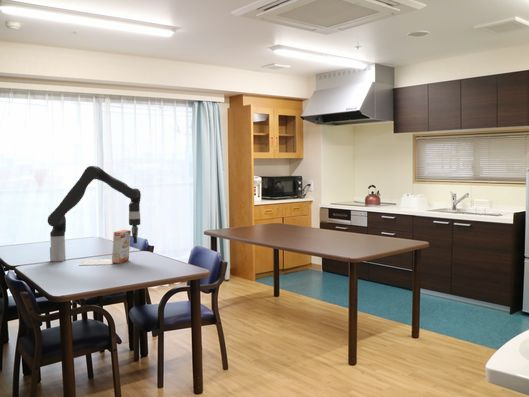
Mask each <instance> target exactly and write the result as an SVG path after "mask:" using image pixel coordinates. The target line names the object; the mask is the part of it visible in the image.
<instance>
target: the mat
mask: <svg viewBox="0 0 529 397" xmlns="http://www.w3.org/2000/svg"><path fill="white" fill-rule="evenodd" d="M106 265H107V266H110V265H114V263H112V258H110V259H109V258H107V259H106V258H105V259H102V258H101V259H85V260H84V261H83V262H81V263H80V264H79V265H78V266H82V267H83V266H106Z"/></svg>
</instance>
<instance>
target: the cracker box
mask: <svg viewBox="0 0 529 397" xmlns="http://www.w3.org/2000/svg"><path fill="white" fill-rule="evenodd" d="M131 235H132V230H129V229H120V230H116V231H114V232H113V236H112V237H113V238H112V239H113V240H112V252H111V254H112V255H111V259H112V263H113V264H121V263H125V262H127V261H129V260H130V250H131V249H130V248H131V247H130V246H131Z"/></svg>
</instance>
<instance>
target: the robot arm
mask: <svg viewBox="0 0 529 397" xmlns="http://www.w3.org/2000/svg"><path fill="white" fill-rule="evenodd" d="M93 180H97V181H101V182H103V183H105V184H107V185H108V186H109V187H111V189H113V190H114V191H116V192H119V193H120V194H122V195H123V196H125V197H126V198H128V199H130V202H129V204H128V225H129V226H132V227H131V235H132V239H133V240H132V241H133V244H137V243H138V234H139V226H140V225H141V212H140V210H141V209H140V204H141V203H140V202H141V197H142V196H141V195H142V194H141V191H140V189H139V188H132V187H130V186H129V185H128V184H127V183H125V182H124V181H121V179H117V178H116V177H113V176H112V175H110V174H109V173H107V172H106V171H105V170H104V169H102V168H101V167H100V166H99V165H98V166H97V165H89V166H87V167H86V168H85V169H84V171H83V172H82V174H81V176H80V177H79V179H78V180H77V181H76V183H75V184H73V187H71V189H70V190H69V191H68V192H67V194H66V195H65V196H64V198H63V199H62V201H61V202H60V203H59V205H58V206H57V207H56V208H55V209H54V210H53V211H52V212H51V213H50V214H48V215H49V216H47V224H48V225H49V226H50V227H52V230H51V231H50V233H49V236H50V237H49V238H50V240H49V241H50V247H49V259H50V262H56V263H57V262H64V261H66V237H65V236H66V235H65V234H66V231H67V230H66V227H67V220H66V215H67V213H69V212H70V211H71V210H72V209H73V208H75V207H76V206H78V203H79V202H80V201H81V200H82V198H83V197H84V196H85V193H86V190H87V188H88V186H89V185H90V184H91V182H93Z"/></svg>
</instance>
